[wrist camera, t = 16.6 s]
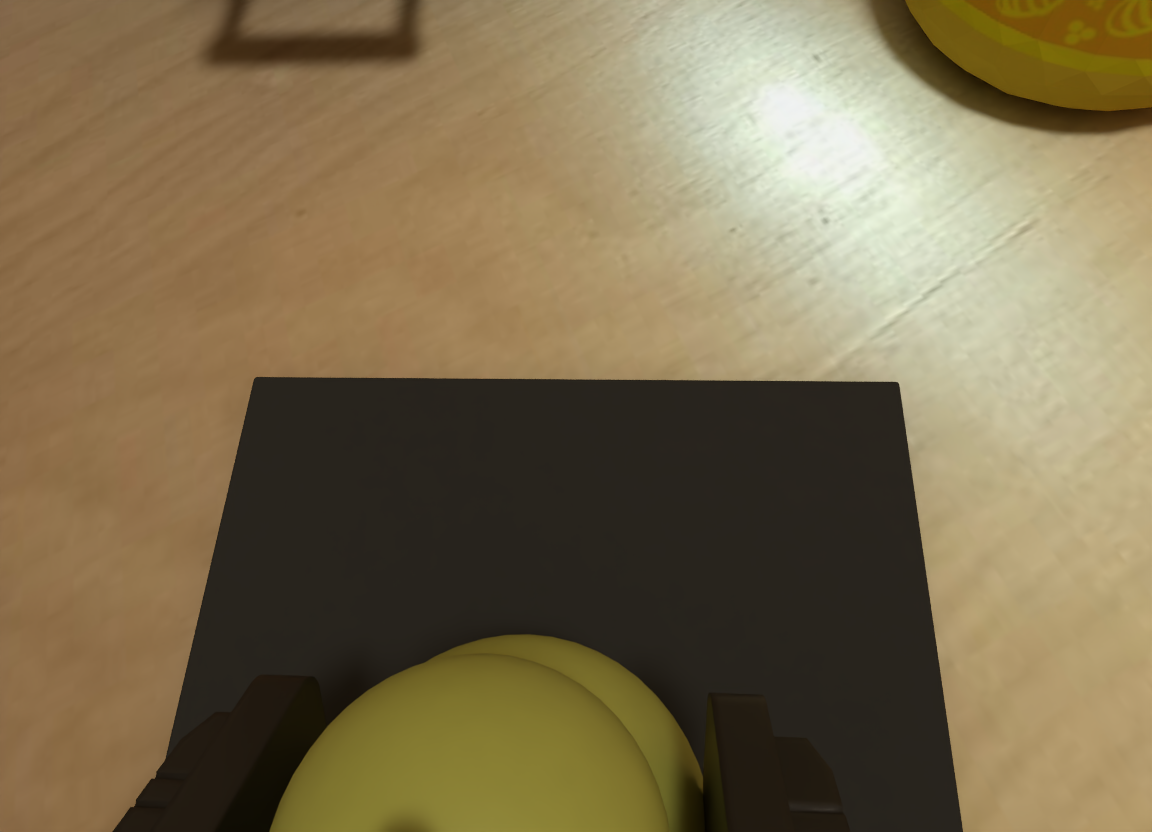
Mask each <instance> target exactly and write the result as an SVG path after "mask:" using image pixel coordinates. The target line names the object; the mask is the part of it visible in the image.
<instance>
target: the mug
mask: <svg viewBox="0 0 1152 832" xmlns="http://www.w3.org/2000/svg"><path fill="white" fill-rule="evenodd" d="M906 4H907V6H908V8H909V10H910V12H911V14H912V15H913V16H914V18H915V19H916V21H917V22H918V24H919V25H920V27H921V28H922V29H923V31H924V32H925V34H926V35H927V37H928V38H929V39H930V41H931V42H932V44H933V45H934V46H936V47H937V48H938V49H939V50H940V51H941V52H943V53H944V54H945V55H946V56H947V57H948V58H950V59H951V60H952V61H953V62H954V63H956V64H957V65H958V66H960V67H961V68H963V69H964V70H965V71H967V72H969V73H971V74H973V75H974V76H976V77H978V78H980V79H982V80H983V81H985V82H987V83H989V84H991V85H992V86H994V87H996V88H998V89H1000V90H1001V91H1003V92H1005V93H1007V94H1011V95H1015V96H1019V97H1023V98H1027V99H1031V100H1035V101H1039V102H1043V103H1047V104H1051V105H1055V106H1061V107H1066V108H1072V109H1086V110H1100V111H1114V110H1126V109H1138V108H1150V107H1152V0H906Z"/></svg>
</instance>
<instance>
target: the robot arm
mask: <svg viewBox="0 0 1152 832" xmlns="http://www.w3.org/2000/svg"><path fill="white" fill-rule="evenodd" d="M326 728H327V726H326V720H325V714H324V708H323V702H322V696H321V690H320V686H319V683H318V681H317V679H316V678H315V677H313V676H293V675H266V674H262V675H259V676H257V677H256V678H255V679H254V680H253V681H252V682H251V684H250V685H249V687H248V688H247V690H246V691H245V692H244V694H243V695H242V697H241V698H240V700H239V701H238V703H237V704H236V706H235V707H234V709H233V710H232V711H231V712H215V713H213V714H212V715H211V716H210V717H208V718H207V719H206V720H205V721H203V722H202V723H201V724H199V725H198V726H197V727H196V728H194V729H193V730H192V731H190V732H189V733H188V734H187V735H185V736H184V737H183V738H182V739H180V741H179V742H178V744H177V745H176V746H175V748H174V749H173V750H172V752H171V753H170V754H169V756H168V757H167V758H166V760H165V761H164V763H163V764H162V765H161V767H160V768H159V769H158V771H157V772H156V773H157V774H156V778H155V779H151V780H150V782H149V783H148V784H147V786H146V787H145V788H144V790H143V791H142V792H141V794H140V795H139V796H138V798H137V799H136V804H135V806H134V807H130V809H129V810H128V811H127V813H126V814H125V815H124V817H123V818H122V820H121V821H120V822H119V824H118V825H117V826H116V828H115V829H114V830H113V832H269V831H270V828H271V825H272V822H273V820H274V817H275V814H276V811H277V809H278V806H279V803H280V801H281V799H282V796H283V794H284V792H285V790H286V788H287V786H288V784H289V782H290V780H291V778H292V776H293V774H294V773H295V771H296V770H297V768H298V766H299V765H300V763H301V762H302V760H303V758H304V757H305V755H306V754H307V752H308V751H309V749H310V748H311V746H312V745H313V744H314V743H315V741H316V740H317V739H318V738H319V736H320V735H321V734H322V733H323V731H324V730H325V729H326ZM703 804H704V819H705V832H850V828H849V825H848V822H847V818H846V815H844V813H843V805H842V801H841V798H840V795H839V791H838V788H837V785H836V781H835V778H834V775H833V771H832V769H831V768H830V767H829V765H828V764H827V763H826V762H825V760H824V759H823V758H822V757H821V755H820V754H819V753H818V752H817V750H816V749H815V748H814V747H813V745H812V744H811V743H810V742H809V740H808V739H807V738H799V737H776V736H774V735H773V730H772V726H771V721H770V717H769V712H768V707H767V703H766V700H765V697H764V695H759V694H733V693H709V694H708V700H707V715H706V733H705V751H704V769H703Z"/></svg>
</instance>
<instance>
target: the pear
mask: <svg viewBox="0 0 1152 832" xmlns="http://www.w3.org/2000/svg"><path fill="white" fill-rule="evenodd" d="M269 832H705V819H704V804H703V776H702V773H701V770H700V767H699V764H698V762H697V759H696V757H695V755H694V753H693V751H692V749H691V746H690V744H689V742H688V740H687V738H686V736H685V735H684V733H683V732H682V730H681V728H680V727H679V725H678V723H677V722H676V720H675V719H674V717H673V715H672V714H671V713H670V712H669V710H668V709H667V708H666V707H665V705H664V704H663V703H662V702H661V700H660V699H659V698H658V697H657V695H655V694H654V693H653V692H652V691H651V690H650V689H649V688H648V687H647V686H646V685H645V684H644V683H643V682H642V681H641V680H640V679H639V678H638V677H637V676H635V675H634V674H633V673H631V672H630V671H628V670H627V669H626V668H624V667H623V666H622V665H620V664H619V663H618V662H616V661H614V660H612V659H610V658H609V657H607V656H605V655H603V654H602V653H600V652H598V651H596V650H593V649H591V648H588V647H586V646H583V645H581V644H578V643H575V642H572V641H568V640H564V639H559V638H555V637H550V636H541V635H531V634H521V635H503V636H496V637H490V638H484V639H480V640H477V641H473V642H470V643H467V644H464V645H460V646H457V647H455V648H452V649H450V650H448V651H446V652H444V653H441V654H439V655H437V656H435V657H433V658H431V659H430V660H428V661H426V662H425V663H422V664H419V665H416V666H413V667H410V668H408V669H406V670H404V671H402V672H399V673H397V674H395V675H393V676H391V677H389V678H387V679H385V680H384V681H382V682H380V683H379V684H377V685H376V686H374V687H372V688H371V689H369V690H368V691H366V692H365V693H364V694H362V695H361V696H360V697H359V698H357V699H356V700H355V701H354V702H352V703H351V704H350V705H349V706H347V707H346V708H345V709H344V710H343V711H342V712H341V713H340V714H339V715H338V716H337V717H336V718H335V719H334V720H333V721H332V722H331V723H330V724H329V725H328V726H327V728H326V729H325V730H324V731H323V733H322V734H321V735H320V736H319V738H318V739H317V740H316V741H315V743H314V744H313V745H312V746H311V748H310V749H309V751H308V752H307V754H306V755H305V757H304V758H303V760H302V762H301V763H300V765H299V766H298V768H297V770H296V771H295V773H294V774H293V776H292V778H291V780H290V782H289V784H288V786H287V788H286V790H285V792H284V794H283V796H282V799H281V801H280V803H279V806H278V809H277V811H276V814H275V817H274V820H273V822H272V825H271V828H270V831H269Z"/></svg>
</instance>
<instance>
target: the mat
mask: <svg viewBox="0 0 1152 832" xmlns="http://www.w3.org/2000/svg"><path fill="white" fill-rule="evenodd" d="M521 634H531V635H541V636H550V637H555V638H559V639H564V640H568V641H572V642H575V643H578V644H581V645H583V646H586V647H588V648H591V649H593V650H596V651H598V652H600V653H602V654H603V655H605V656H607V657H609V658H610V659H612V660H614V661H616V662H618V663H619V664H620V665H622V666H623V667H624V668H626V669H627V670H628V671H630V672H631V673H633V674H634V675H635V676H637V677H638V678H639V679H640V680H641V681H642V682H643V683H644V684H645V685H646V686H647V687H648V688H649V689H650V690H651V691H652V692H653V693H654V694H655V695H657V697H658V698H659V699H660V700H661V702H662V703H663V704H664V705H665V707H666V708H667V709H668V710H669V712H670V713H671V714H672V715H673V717H674V719H675V720H676V722H677V723H678V725H679V727H680V728H681V730H682V732H683V733H684V735H685V736H686V738H687V740H688V742H689V744H690V746H691V749H692V751H693V753H694V755H695V757H696V759H697V762H698V764H699V767H700V770H701V773H702V776H703V769H704V751H705V733H706V715H707V700H708V694H709V693H733V694H759V695H764V697H765V700H766V703H767V707H768V712H769V717H770V721H771V726H772V730H773V735H774V736H776V737H799V738H807V739H808V740H809V742H810V743H811V744H812V745H813V747H814V748H815V749H816V750H817V752H818V753H819V754H820V755H821V757H822V758H823V759H824V760H825V762H826V763H827V764H828V765H829V767H830V768H831V769H832V771H833V775H834V778H835V781H836V785H837V788H838V791H839V795H840V798H841V801H842V805H843V813H844V815H846V818H847V822H848V825H849V828H850V832H963V828H962V821H961V814H960V807H959V800H958V793H957V786H956V779H955V772H954V765H953V758H952V751H951V744H950V737H949V730H948V723H947V716H946V709H945V702H944V695H943V688H942V681H941V674H940V667H939V660H938V653H937V646H936V639H935V632H934V625H933V618H932V611H931V604H930V597H929V590H928V583H927V576H926V569H925V562H924V555H923V548H922V541H921V534H920V527H919V520H918V513H917V506H916V499H915V492H914V485H913V478H912V471H911V464H910V457H909V450H908V443H907V436H906V429H905V422H904V415H903V408H902V401H901V394H900V387H899V383H898V382H831V381H698V380H564V379H430V378H296V377H256V378H255V379H254V382H253V386H252V390H251V395H250V399H249V403H248V408H247V412H246V416H245V420H244V425H243V429H242V433H241V438H240V442H239V446H238V450H237V455H236V459H235V463H234V468H233V472H232V476H231V480H230V485H229V489H228V493H227V498H226V502H225V506H224V510H223V515H222V519H221V523H220V528H219V532H218V536H217V540H216V545H215V549H214V553H213V558H212V562H211V566H210V570H209V575H208V579H207V583H206V588H205V592H204V596H203V600H202V605H201V609H200V613H199V618H198V622H197V626H196V630H195V635H194V639H193V643H192V648H191V652H190V656H189V660H188V665H187V669H186V673H185V678H184V682H183V686H182V690H181V695H180V699H179V703H178V708H177V712H176V716H175V720H174V725H173V729H172V733H171V738H170V742H169V746H168V750H167V755H166V758H167V757H168V756H169V754H170V753H171V752H172V750H173V749H174V748H175V746H176V745H177V744H178V742H179V741H180V739H182V738H183V737H184V736H185V735H187V734H188V733H189V732H190V731H192V730H193V729H194V728H196V727H197V726H198V725H199V724H201V723H202V722H203V721H205V720H206V719H207V718H208V717H210V716H211V715H212V714H213V713H215V712H231V711H232V710H233V709H234V707H235V706H236V704H237V703H238V701H239V700H240V698H241V697H242V695H243V694H244V692H245V691H246V690H247V688H248V687H249V685H250V684H251V682H252V681H253V680H254V679H255V678H256V677H257V676H259V675H262V674H266V675H293V676H313V677H315V678H316V679H317V681H318V683H319V686H320V690H321V696H322V702H323V708H324V714H325V720H326V726H328V725H329V724H330V723H331V722H332V721H333V720H334V719H335V718H336V717H337V716H338V715H339V714H340V713H341V712H342V711H343V710H344V709H345V708H346V707H347V706H349V705H350V704H351V703H352V702H354V701H355V700H356V699H357V698H359V697H360V696H361V695H362V694H364V693H365V692H366V691H368V690H369V689H371V688H372V687H374V686H376V685H377V684H379V683H380V682H382V681H384V680H385V679H387V678H389V677H391V676H393V675H395V674H397V673H399V672H402V671H404V670H406V669H408V668H410V667H413V666H416V665H419V664H422V663H425V662H426V661H428V660H430V659H431V658H433V657H435V656H437V655H439V654H441V653H444V652H446V651H448V650H450V649H452V648H455V647H457V646H460V645H464V644H467V643H470V642H473V641H477V640H480V639H484V638H490V637H496V636H503V635H521ZM165 760H166V759H165Z"/></svg>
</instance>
